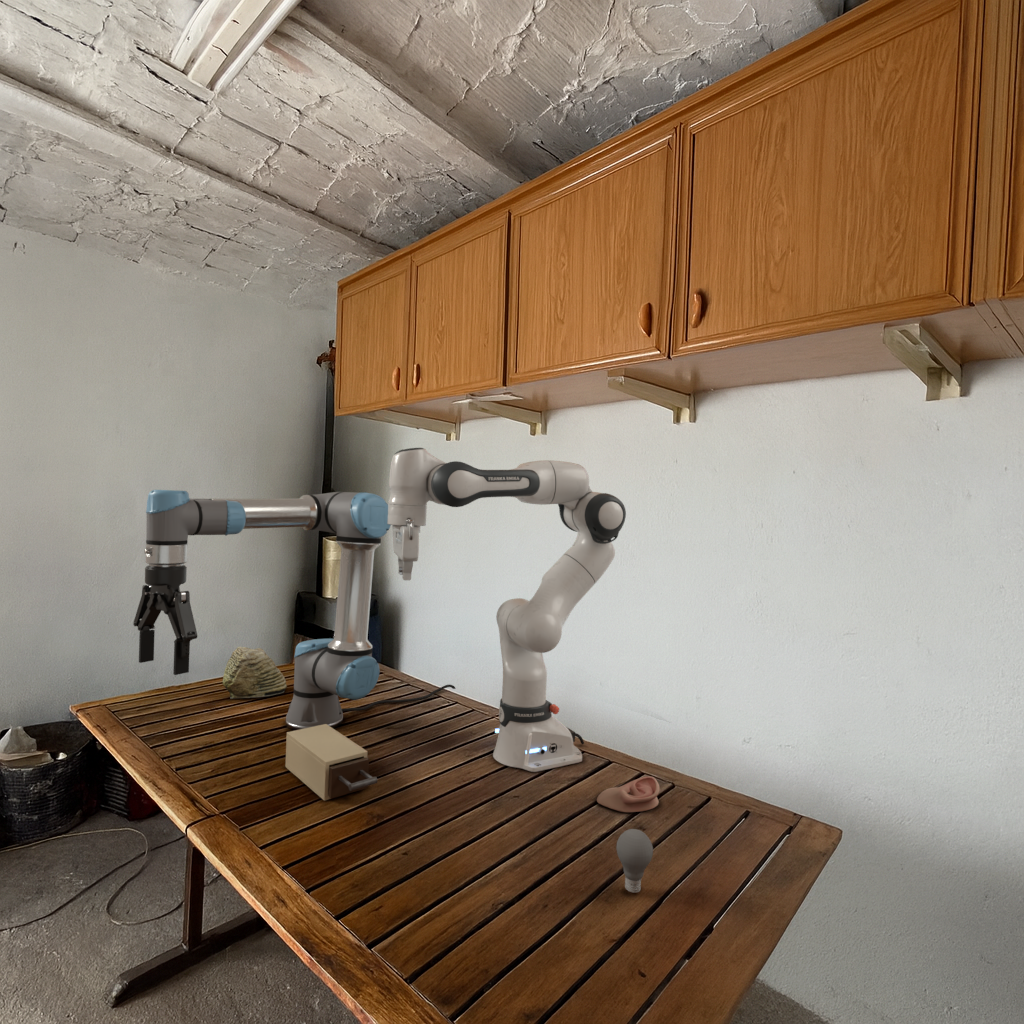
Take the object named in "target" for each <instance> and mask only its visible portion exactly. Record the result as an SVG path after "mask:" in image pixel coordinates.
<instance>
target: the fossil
mask: <svg viewBox="0 0 1024 1024" xmlns="http://www.w3.org/2000/svg"><path fill="white" fill-rule="evenodd" d="M222 676H223V677H222V685H223V687H224V688H225V690H226V691H228V693H229V698H230V699H250V698H264V697H271V696H275V695H281V694H284V693H285V691H286V689H287V687H288V686H287V680H286V678H285V676H284V674H283V673H282V672H281V669H279V668H278V667H277V665H276V663H275V662H274V660H273V659H272V658H271V657H270V656H269V655H268V654H267V653H266V652H265V650H264V649H263V648H260V647H258V648H251V647H247V646H246V647H245V646H238V647H237V648H236V649H235V650H233V651H232V653H231V656H230V657H229V659H228V660H227V663H226V666H225V668H224V671H223V675H222Z"/></svg>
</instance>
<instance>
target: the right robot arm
mask: <svg viewBox="0 0 1024 1024" xmlns="http://www.w3.org/2000/svg"><path fill="white" fill-rule="evenodd" d="M588 473H589V472H587V470H586V468H585V467H584V466H583V465H581V464H579V463H575V462H570V461H562V460H547V459H546V460H534V461H528V462H522V463H519V464H518V465H517V467H514V468H511V469H479V468H476V467H474V466H473V465H470V464H468V463H466V462H463V461H459V460H458V461H457V460H456V461H449V462H446V461H443V460H441V459H439V458H437V457H435V456H434V455H432V454H431V453H430V452H428V450H427V449H426V448H423V447H410V448H405V449H400V450H398V451H396V452H395V453H394V454H393V455H392V458H391V462H390V467H389V475H388V476H389V477H388V478H389V479H388V486H389V492H390V494H389V498H388V502H387V504H388V521H387V524H389V525H391V526H392V527H391V530H392V531H391V532H392V545H393V546H392V547H393V553H394V554H395V555H396V556H397V563H398V564H397V565H398V574H399V575H400V576H402V580H403V581H411V579H412V571H413V568H414V562H415V563H416V562H418V561H419V556H420V553H419V551H420V533H421V527H426V526H427V511H428V510H427V508H428V507H427V505H428V503H429V502H433V503H435V504H438V505H443V506H448V507H451V508H461V507H464V506H467V505H470V504H471V503H472V502H475V501H477V500H479V499H485V498H486V499H487V498H507V497H508V498H514V499H517V500H518V501H519V502H521V503H525V504H530V505H541V506H542V505H544V506H545V505H558V509H559V511H558V512H559V517H560V520H561V522H562V524H563V525H564V526H565V527H566V528H567V529H569V530H571V531H573V532H574V533H575V532H576V534H577V535H576V538H575V540H574V542H573V544H572V545H571V546H570V548H568V549H567V550H566V551H565V552H564V553H563V554H562V555H561V556H560V558H558V559H557V560H556V562H554V563H553V565H552V566H551V567H550V568H549V569H548V570H547V571H546V572H545V573H544V574H543V575H542V577H541V582H540V585H539V586H538V588H537V590H536V591H535V592H534V595H533V596H532V597H531V599H529V600H528V599H526V598H520V597H519V598H518V597H517V598H511V599H510V598H509V599H507V600H505V601H504V602H502V604H501V605H500V606H499V607H498V609H497V611H496V623H497V627H498V633H499V644H500V654H501V661H502V687H501V688H502V689H501V698H500V700H499V708H498V722H499V727H498V728H494V729H495V730H494V733H496V734H497V737H496V743H495V747H494V750H493V753H492V757H493V759H494V760H495V761H497V762H498V763H499V764H502V765H504V766H507V767H511V768H515V769H516V768H517V769H522V770H525V771H528V772H531V773H538V772H542V771H545V770H550V769H556V768H560V767H564V766H568V765H574V764H578V763H582V762H583V753H582V752H581V750H580V749H579V747H577V746H576V745H575V744H574V743H575V742H576V738H578V740H579V742H580V744H581V745H584V744H585V741H584V739H583V737H582V736H581V735H580V734H579V733H576V731H575V730H572V729H571V728H569V727H568V726H566V725H564V723H562V722H561V721H560V720H559V719H557V718H556V717H555V716H553V715H552V714H554V715H558V714H559V713H560V707H559V705H556V704H555V703H552V702H550V701H549V700H547V681H548V670H547V667H546V664H545V659H544V655H543V654H545V653H549V652H551V651H552V650H554V649H555V648H556V647H557V646H558V645H559V643H560V642H561V638H562V633H563V628H564V626H565V624H566V622H567V620H568V618H569V616H570V615H571V613H572V611H573V610H574V608H576V606H577V605H578V604H579V602H580V601H582V599H583V598H584V597H585V596H586V594H588V592H589V591H590V590H591V589H592V588H593V587H594V586H595V585H596V584H597V582H599V581H600V579H601V578H602V577H603V575H604V574H605V573H606V571H607V570H608V568H609V567H610V565H611V564H612V562H613V560H614V558H615V556H616V549H615V546H614V544H613V543H612V542H614V541H616V540H617V539H618V537H619V533H620V531H621V530H622V528H623V526H624V524H625V521H626V516H627V511H626V507H625V505H624V503H623V502H622V501H621V500H620V499H619V498H618V497H617V496H615V495H613V494H611V493H607V492H599V491H593V490H592V489H591V487H590V476H589V474H588Z"/></svg>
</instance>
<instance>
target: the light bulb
mask: <svg viewBox="0 0 1024 1024" xmlns="http://www.w3.org/2000/svg"><path fill="white" fill-rule="evenodd" d="M615 849H616V854H617V857H618V859H619V861H620V863H621V865H622V867H623V873H624V874H623V875H624V876H625V878H624V888H625V890H627V891H628V892H630V893H634V894H635V893H639V892H640V891H641V889H642V887H641V886H642V879H643V877H644V875H645V871H646V868H647V867H648V866H649V864H650V863H651V861H652V859H653V855H654V847H653V843H652V841H651V838H649V836H648V835H647V834H646V833H645V832H643V831H642V830H641V829H636V828H629V829H627V830H625V831H623V832H622V833H621V834H620V835H619V837H618V839H617V841H616V847H615Z"/></svg>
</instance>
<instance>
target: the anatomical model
mask: <svg viewBox="0 0 1024 1024" xmlns="http://www.w3.org/2000/svg"><path fill="white" fill-rule="evenodd" d="M660 790H661V788H660V784H659V782H658V781H657V779H656V777H654V776H650V775H647V776H643V777H639V778H637V779H633V780H631V781H629V782H627V783H625V784H622V785H621V786H618V787H617V786H615V787H609V788H606V789H604V790H603V791H601V792H600V793H599V794H598V796H597V797H596V802H597V803H598V804H599V805H600V806H603V807H606V808H608V809H611V810H614V811H617V812H621V813H636V812H637V813H638V812H645V811H649V810H652V809H655V808H657V806H658V805H659V803H660V802H659V799H658V796H659V794H660V792H661V791H660Z"/></svg>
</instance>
